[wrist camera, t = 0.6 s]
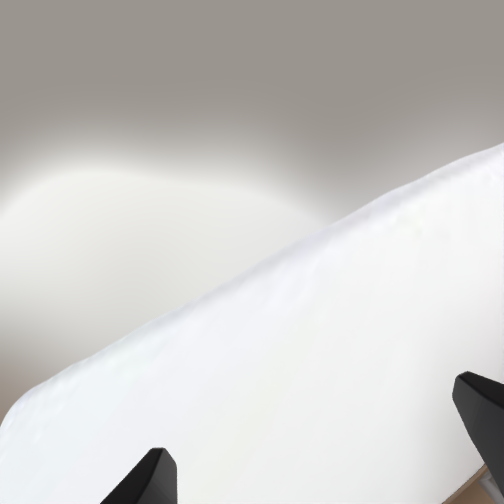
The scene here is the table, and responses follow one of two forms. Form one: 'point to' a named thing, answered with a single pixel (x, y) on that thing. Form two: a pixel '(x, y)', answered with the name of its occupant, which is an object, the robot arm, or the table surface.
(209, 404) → the table surface
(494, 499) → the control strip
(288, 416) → the table surface
